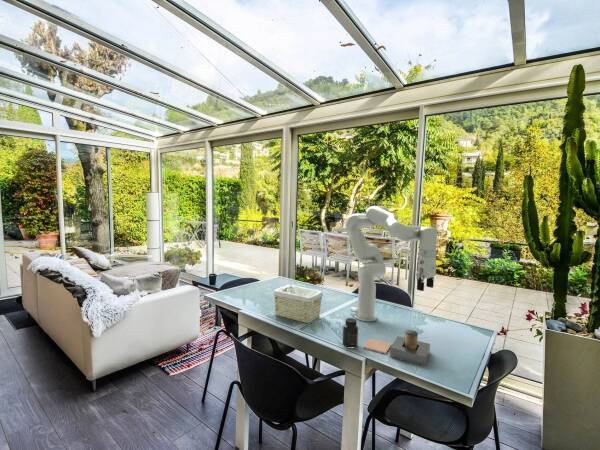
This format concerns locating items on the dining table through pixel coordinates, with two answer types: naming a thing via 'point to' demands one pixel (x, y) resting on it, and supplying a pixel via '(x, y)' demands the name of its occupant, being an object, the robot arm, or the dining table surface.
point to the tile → (377, 346)
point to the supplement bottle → (350, 333)
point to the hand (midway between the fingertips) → (425, 288)
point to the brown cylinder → (411, 339)
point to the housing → (410, 351)
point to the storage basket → (298, 303)
